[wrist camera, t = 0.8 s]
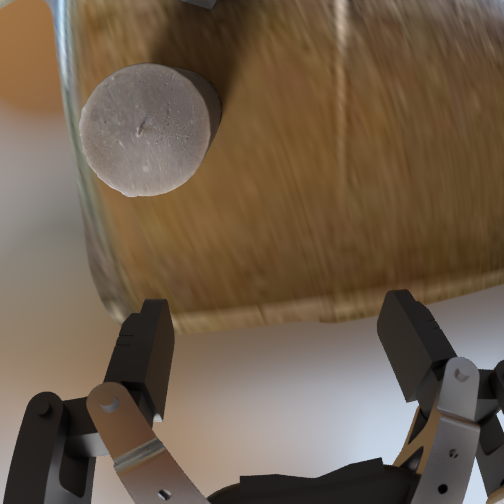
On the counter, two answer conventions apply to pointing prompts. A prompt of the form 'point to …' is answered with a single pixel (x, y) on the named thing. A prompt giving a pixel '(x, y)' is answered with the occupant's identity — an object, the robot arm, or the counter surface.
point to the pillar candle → (149, 127)
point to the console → (202, 3)
